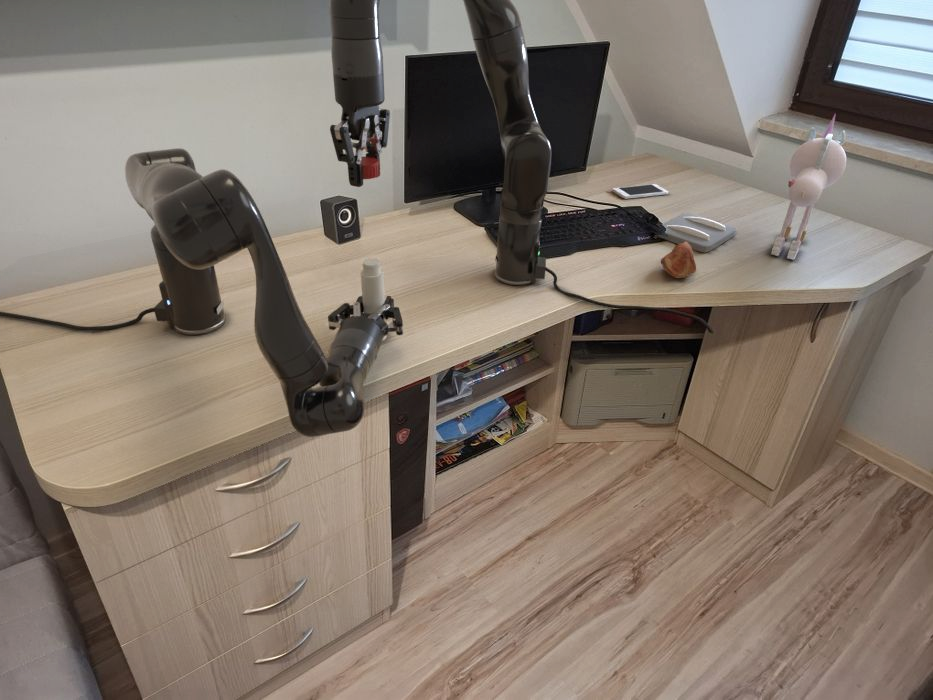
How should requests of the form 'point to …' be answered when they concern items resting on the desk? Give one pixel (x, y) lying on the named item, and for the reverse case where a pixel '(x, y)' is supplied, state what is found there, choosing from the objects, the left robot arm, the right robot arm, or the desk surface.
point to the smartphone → (640, 191)
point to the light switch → (697, 232)
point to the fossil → (680, 261)
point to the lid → (370, 167)
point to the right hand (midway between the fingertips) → (365, 180)
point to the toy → (811, 180)
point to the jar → (372, 286)
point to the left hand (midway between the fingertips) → (377, 299)
